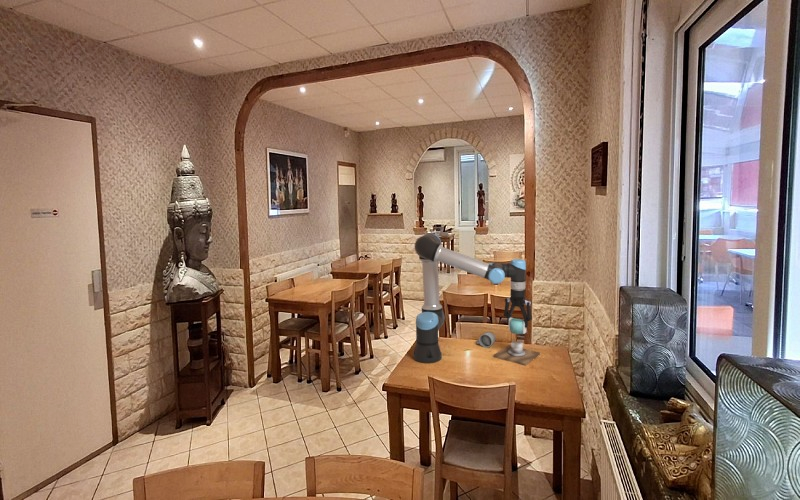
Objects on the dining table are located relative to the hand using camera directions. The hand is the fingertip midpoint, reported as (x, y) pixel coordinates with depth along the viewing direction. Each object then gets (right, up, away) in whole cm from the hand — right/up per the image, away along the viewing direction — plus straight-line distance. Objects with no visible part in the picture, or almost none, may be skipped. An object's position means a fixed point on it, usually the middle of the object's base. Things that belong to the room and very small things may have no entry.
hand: (517, 331), depth 219 cm
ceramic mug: (-13, -12, +18) cm, 25 cm away
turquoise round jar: (0, 0, 0) cm, 0 cm away
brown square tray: (0, -13, +2) cm, 14 cm away
